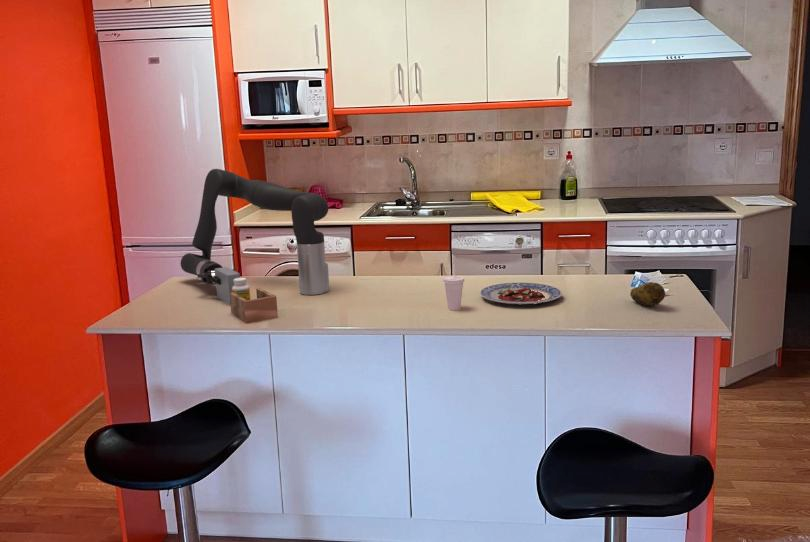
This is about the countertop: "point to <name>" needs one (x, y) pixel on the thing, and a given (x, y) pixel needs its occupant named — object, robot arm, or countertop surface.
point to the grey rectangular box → (225, 283)
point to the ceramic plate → (520, 293)
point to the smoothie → (454, 290)
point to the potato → (648, 293)
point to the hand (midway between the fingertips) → (226, 280)
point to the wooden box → (254, 306)
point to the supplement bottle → (241, 288)
